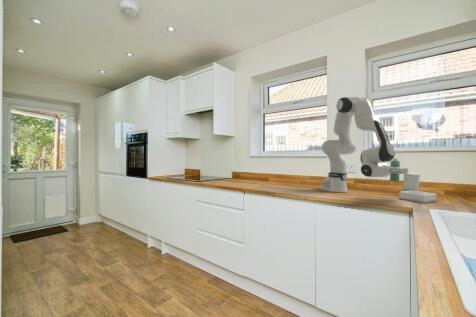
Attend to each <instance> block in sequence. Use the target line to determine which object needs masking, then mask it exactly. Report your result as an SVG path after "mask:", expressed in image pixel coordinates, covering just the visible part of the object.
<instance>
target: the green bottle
mask: <svg viewBox="0 0 476 317" xmlns="http://www.w3.org/2000/svg"><path fill="white" fill-rule="evenodd" d="M390 167H401V161H400V160H399V158H398V157H394V158H393V159H392V160H391V161H390ZM389 181H390V182H395V183H396V182H400V174H394V173H390V175H389Z"/></svg>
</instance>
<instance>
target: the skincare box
mask: <svg viewBox="0 0 476 317" xmlns="http://www.w3.org/2000/svg"><path fill="white" fill-rule="evenodd" d="M420 176H421V174H420V173H412V172H408V173H407V174H403V180H402V181H403V183H402V191H410V190H413V191H420V190H419V187H420Z"/></svg>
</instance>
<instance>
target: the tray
mask: <svg viewBox="0 0 476 317" xmlns="http://www.w3.org/2000/svg"><path fill="white" fill-rule="evenodd" d="M398 193H399V196H398V199H400V198H401V199H400V200H405V199H406V201H412V202H417V203H422V204H426V203H427V204H428V203H431V202H432V203H433V202H437V195H438V194H437V193H432V192H424V191H420V190H419V191H413V190H410V191H403V190H402V191H399V192H398Z"/></svg>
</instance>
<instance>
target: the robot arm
mask: <svg viewBox="0 0 476 317" xmlns="http://www.w3.org/2000/svg"><path fill="white" fill-rule="evenodd" d="M336 110H337V112H336V115H335V119H334V120H335V121H334V125H333V132H334V134H335V135H337V137H338V139H329V140H325V141H323V143H322V145H321V151H322V152H323V153H324V154H325V155H326V156H327V158H328V160H329V166H330V170H329V172H328V176H327V177H326V178H325V179H323V180H322V181H321V184H320V186H318V187H317V189H319V190H322V191H326V192H330V193H331V192H332V193H334V192H335V193H347V192H348V191H349V190H348V187H347V162H346V161H345V160H344V159H342V158H341V155H347V156H348V155H351V154H354V153H355V151H356V149H357V145H356V143H355V142H354V141H353V139H352V137H351V127H352V126H351V125H352V120H353V119H352V118H353V116H354V123H355V126H356V128H357V129H359V130H361V131H365V132H366V131H367V132H374V133H375V135H376V138H377V141H378V143H379V144H378V146H374V147H371V148H367V149H364V150H362V151H361V153H360V157H359V158H360V162H361V167H360V173H361V174H362V175H363V176H364V177H367V178H386V177H390V173H394V174H399V175H404V174H407V173H409V169H408V167H401V166H400V167H390V165H391V164H390V165H389V164H388V163H386V162H391V161H393V158H395V156H396V151H395V149H394V147H393V145H392V144H391V142H390V139H389V136H388V134H387V132H386V130H385V127H384V125H383V124H382V122H381V121H380V120H377V118H376V116H375V114H374V113H375V112H374V110H373V107H372V103H371V101H370V100H369V99H367V98H366V97H358V96H353V97H347V96H345V97H341V98H339V99H338V100H337V103H336Z"/></svg>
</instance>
